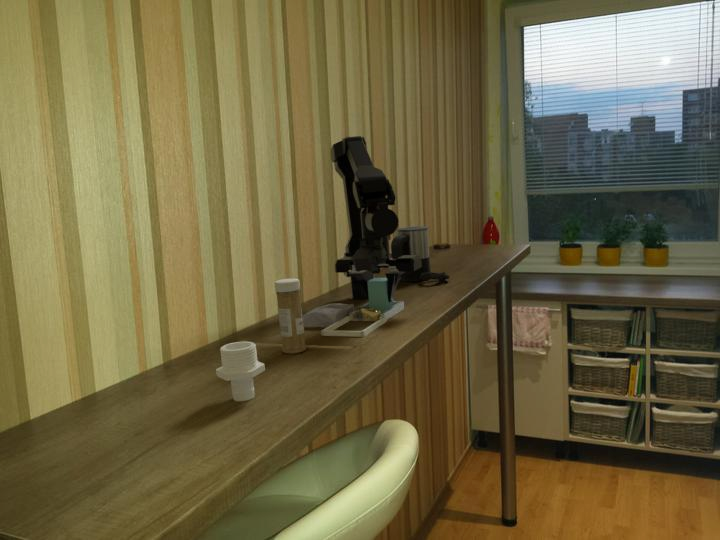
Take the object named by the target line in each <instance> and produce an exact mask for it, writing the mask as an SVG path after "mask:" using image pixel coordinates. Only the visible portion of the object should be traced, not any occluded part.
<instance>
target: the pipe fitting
mask: <svg viewBox="0 0 720 540" xmlns="http://www.w3.org/2000/svg"><path fill="white" fill-rule="evenodd" d="M219 351H220V356H221V357H220V359H221V365H222V366H220V367H218V368H216V369H215V372H216V377H218V378H220V379H222V380H224V381H226V382H227V381H228V382H229V381H230V386H231V394H232V398H233V400H234V401H235V402H247V401H249V400H252V399H254V398H255V387H254V377H256V376H258V375H259V374H261V373H263V372H265V371H266V366H265V363H263V362H261V361H259V360H258V356H257V355H258V353H257V352H258V351H257V345H256V344H255V342H252V341H237V342H235V341H233V342H231V343H227V344H224V345H222V346H221V347H220V349H219Z"/></svg>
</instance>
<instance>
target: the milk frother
mask: <svg viewBox="0 0 720 540" xmlns="http://www.w3.org/2000/svg"><path fill="white" fill-rule="evenodd" d="M428 230H429V226H409V227H402V228H397V229H396V231H397V235H395V236H394V237H393V238H392V241H391V243H390V253H392V258H391V259H397V258H399V257H401V256H403V255H418V256H419V257H420V258H421V262H422V267H421V268H419V269H417V270H415V271H411V272H404V273H402V274H401V277H400V279H399V281H402V282H413V281H415V282H422V281H429V280H438V281H439V282H440V281H444V282H446V280H448V279H450V277H451V276H450V275H449V274H446V273H445V272H444V271H443V272H431V264H430V260H431V259H430V248H429V247H430V244H429V243H430V242H429V231H428Z"/></svg>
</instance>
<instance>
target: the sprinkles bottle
mask: <svg viewBox="0 0 720 540" xmlns="http://www.w3.org/2000/svg"><path fill="white" fill-rule="evenodd" d="M300 283H301V282H300V279H298V278H294V277H293V278H282V279H278V280H275V281H274V290H275V293H276V300H277V311H278V314H277V315H278V321H279V331H280V336H281V343H282V352H283V353H284V354H289V355H291V354H292V355H293V354H300V353H302V352H305V351H306V349H307V345H306V341H305V339H306V338H305V327H304V326H303V317H302V315H303V308H302V303H301V301H302V300H301V293H300V291H301V284H300Z"/></svg>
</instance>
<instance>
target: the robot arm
mask: <svg viewBox="0 0 720 540" xmlns="http://www.w3.org/2000/svg"><path fill="white" fill-rule="evenodd" d="M330 158H331V162H332V163H333V164H334V165H333V166H334V170H335V172H336V173H337V174H338V175H339V177H340V178H341V179H342V184H343V193H344V199H345V207H346V215H347V223H348V231H349V238H348V240H347V242H346V245H345V247H344V249H345V252H344V253H343V257H341V258H338V259H336V261H335V263H334V272H335V273H337V274H338V273H339V274H340V273H343V276H345V277H346V278H350V287H351V296H349V297H347V298H346V300H368V301H369V296H368V282H367V281H369V280H371V279H373V278H374V275H375V274H377V275H378V274H381V269H388V272H386V273H384V276H385V278H387V285H388V301H389V302H392V300H393V299H394V297H395V296H394V295H395V293H396V289H397V286H398V284H399V281H400V277H401V274H402V273H404V272H411V271H415V270H417V269H419V268H421V267H422V262H421V258H420V257H419V256H418V255H403V256H401V257H399V258H397V259H392V253H391V249H390V240H391V239H392V238H391V235H393V234H394V233H395V232H396V231H397V229H398V227H399V218H398V215H397V213H396V212H395V211H393V210H392V209H390V208H389V206H395V205H396V194H395V191H394V189H393V186H392V183H390V179H389V178H387V176H386V174H385V173H384V172H383V170H382V169H380V168H378V167H375V165H374V163H373V161H372V159H371V157H370V154H369V151H368V146H367V141H366V139H365V137H364V136H360V135H358V136H345V138H344V137H343V138H342V139H341V140H340V141H337V142H336V143H334V144H332V146H331V148H330Z"/></svg>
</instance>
